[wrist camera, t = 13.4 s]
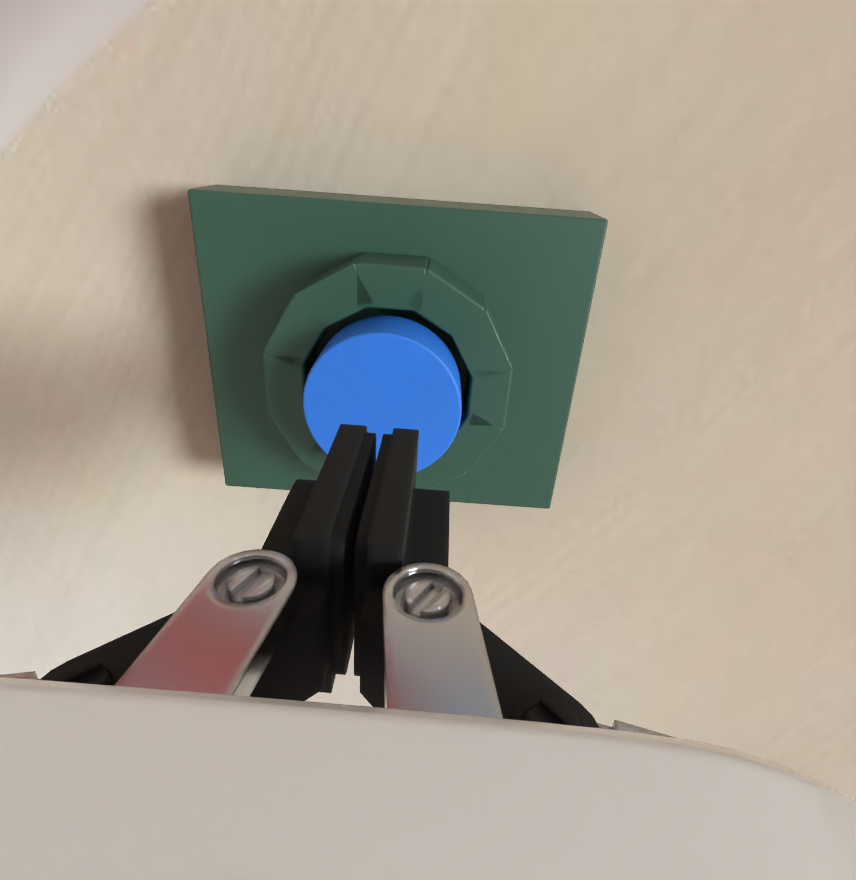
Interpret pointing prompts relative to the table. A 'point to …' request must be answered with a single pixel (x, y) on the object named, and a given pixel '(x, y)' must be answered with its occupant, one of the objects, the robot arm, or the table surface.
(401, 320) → the button
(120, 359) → the table surface
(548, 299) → the switch box
